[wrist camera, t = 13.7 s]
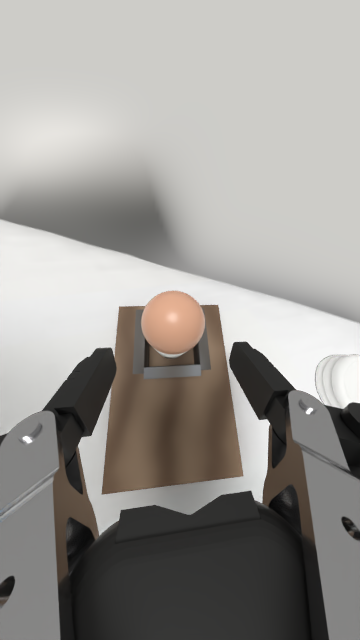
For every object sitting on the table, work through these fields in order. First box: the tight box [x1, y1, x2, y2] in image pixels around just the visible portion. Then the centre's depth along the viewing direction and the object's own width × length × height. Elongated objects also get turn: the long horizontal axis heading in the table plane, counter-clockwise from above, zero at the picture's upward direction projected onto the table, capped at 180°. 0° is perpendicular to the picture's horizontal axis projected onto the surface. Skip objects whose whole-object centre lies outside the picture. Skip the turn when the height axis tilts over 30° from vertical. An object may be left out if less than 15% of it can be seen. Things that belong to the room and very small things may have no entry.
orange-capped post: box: [141, 291, 205, 359], centre depth 14 cm, size 4×4×13 cm
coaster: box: [315, 354, 360, 409], centre depth 20 cm, size 10×10×4 cm
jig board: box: [102, 305, 243, 494], centre depth 17 cm, size 16×22×5 cm
